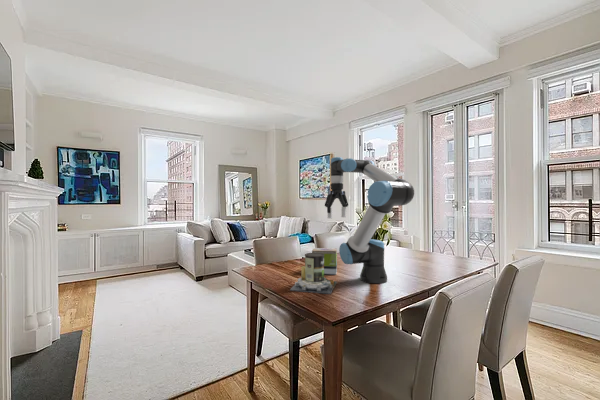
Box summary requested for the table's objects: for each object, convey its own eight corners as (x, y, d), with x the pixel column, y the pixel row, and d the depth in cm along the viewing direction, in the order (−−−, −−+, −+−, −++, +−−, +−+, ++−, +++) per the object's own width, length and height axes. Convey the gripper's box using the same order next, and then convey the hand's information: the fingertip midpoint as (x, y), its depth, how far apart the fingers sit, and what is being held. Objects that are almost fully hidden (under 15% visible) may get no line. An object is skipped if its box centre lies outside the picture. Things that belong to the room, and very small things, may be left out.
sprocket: (309, 277, 171) (309, 262, 171) (340, 283, 159) (340, 267, 159) (287, 286, 154) (287, 269, 154) (321, 293, 143) (321, 275, 142)
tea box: (337, 271, 189) (337, 248, 189) (336, 275, 180) (336, 250, 179) (313, 270, 192) (313, 247, 192) (311, 274, 182) (311, 250, 182)
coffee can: (325, 278, 161) (325, 252, 161) (322, 284, 151) (323, 256, 150) (306, 277, 163) (306, 252, 163) (303, 283, 153) (303, 255, 153)
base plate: (336, 282, 164) (336, 281, 164) (330, 294, 144) (330, 293, 144) (300, 279, 170) (300, 278, 170) (289, 290, 150) (289, 289, 149)
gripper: (344, 183, 192) (344, 216, 192) (318, 182, 174) (318, 218, 174) (353, 183, 186) (353, 217, 187) (328, 182, 169) (328, 219, 169)
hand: (336, 217), depth 180 cm, fingers open, 13 cm apart
